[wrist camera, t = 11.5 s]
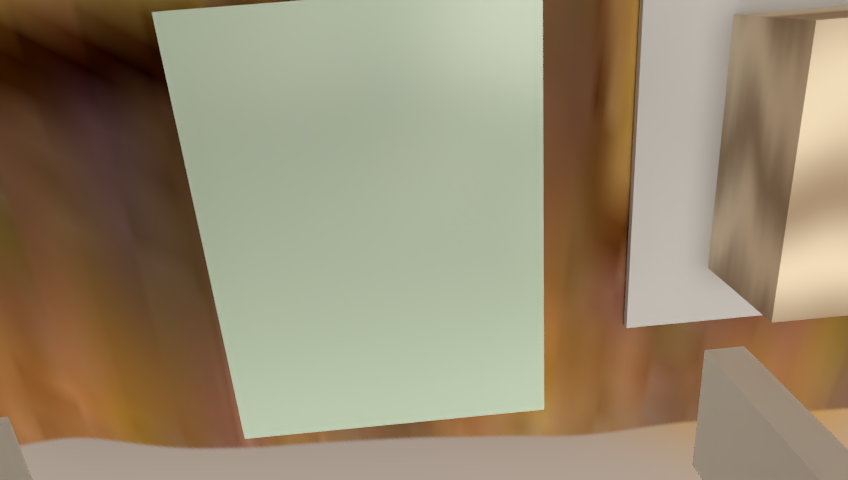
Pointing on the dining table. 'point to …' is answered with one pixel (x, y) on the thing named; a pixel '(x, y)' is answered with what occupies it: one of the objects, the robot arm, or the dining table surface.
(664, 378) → the dining table surface
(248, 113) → the cover board
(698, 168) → the mat
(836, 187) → the block
